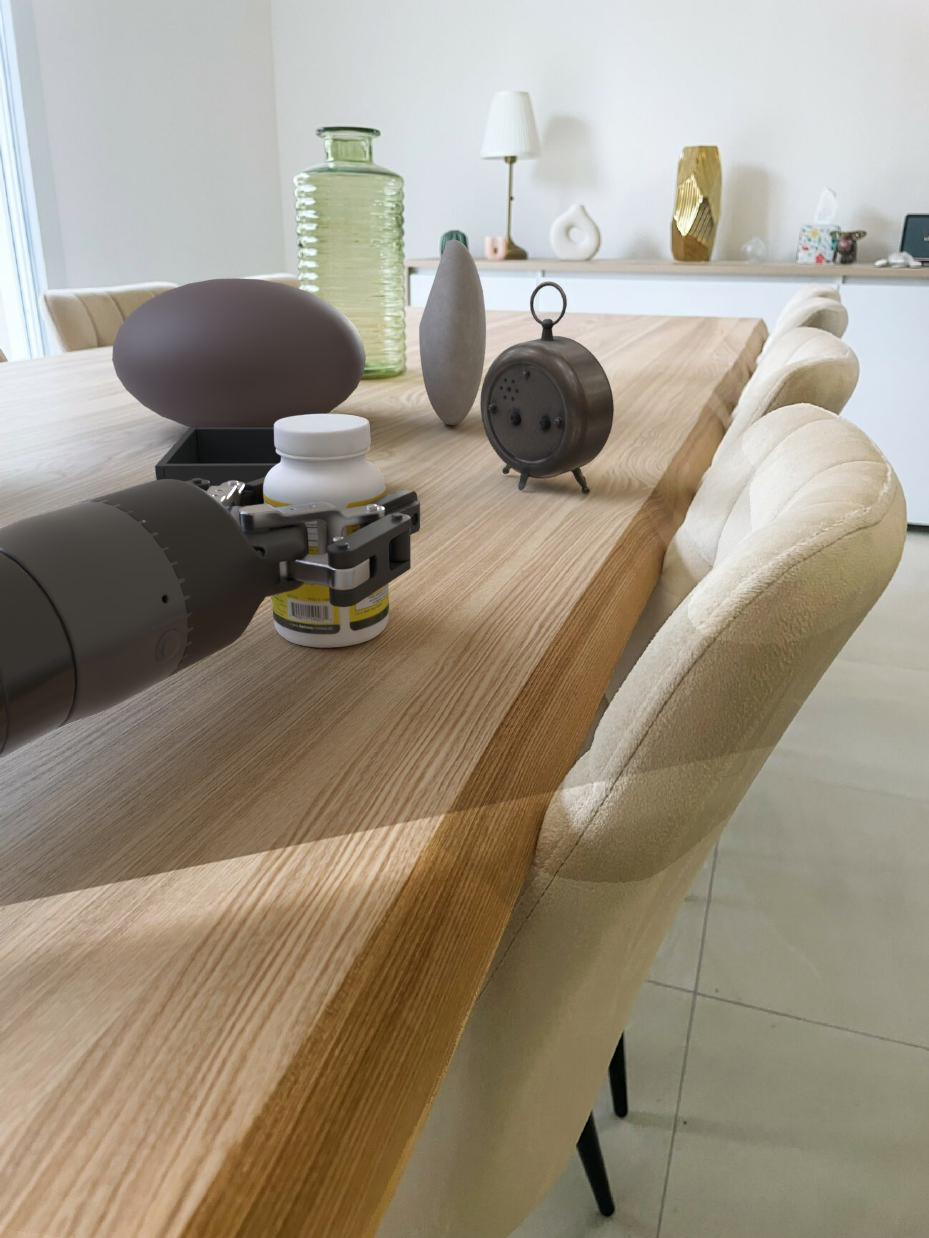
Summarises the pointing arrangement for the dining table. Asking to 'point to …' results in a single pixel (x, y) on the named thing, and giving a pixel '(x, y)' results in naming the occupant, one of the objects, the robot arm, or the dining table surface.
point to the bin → (220, 455)
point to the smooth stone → (238, 354)
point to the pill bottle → (312, 472)
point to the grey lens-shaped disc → (453, 335)
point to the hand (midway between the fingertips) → (351, 499)
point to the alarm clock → (547, 405)
